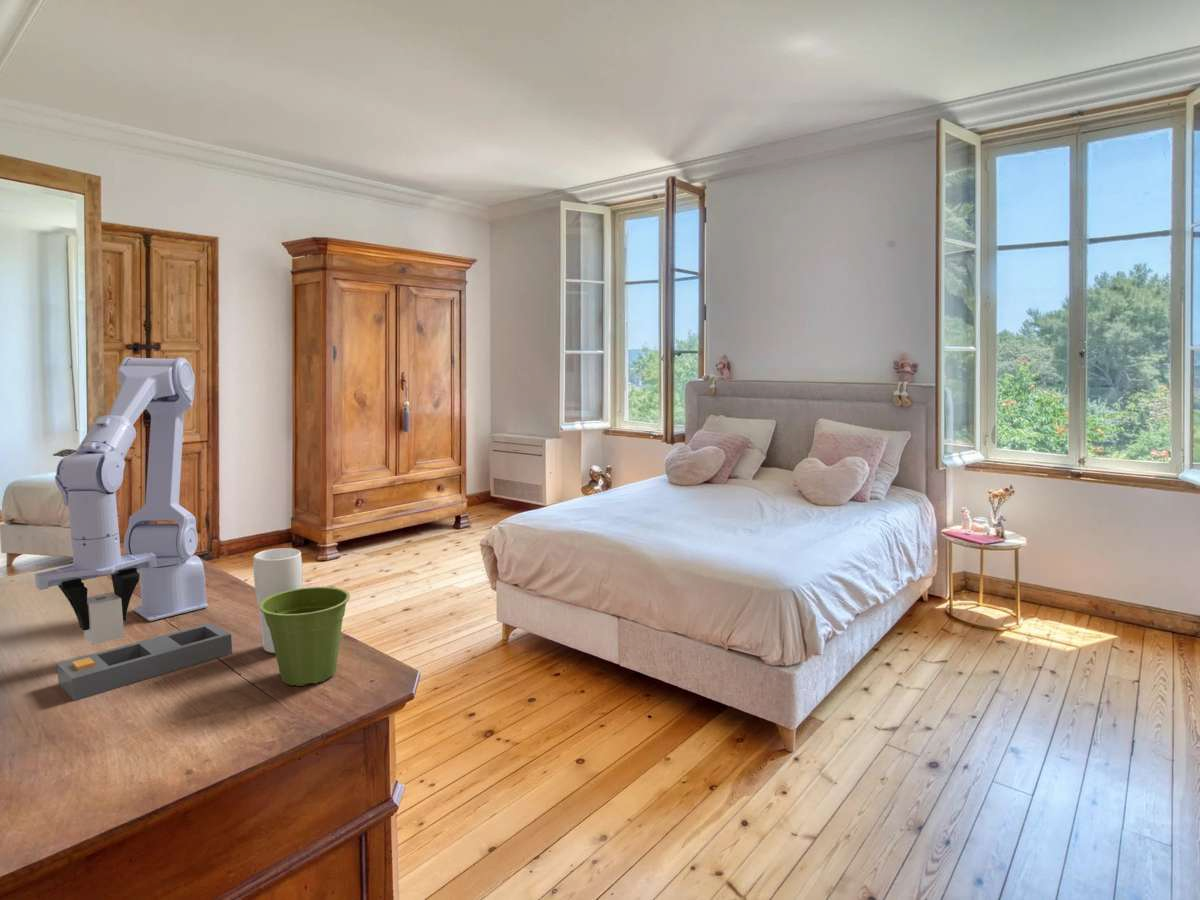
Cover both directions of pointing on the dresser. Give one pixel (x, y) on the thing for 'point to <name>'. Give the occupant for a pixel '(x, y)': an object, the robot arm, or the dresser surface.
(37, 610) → the dresser surface
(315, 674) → the plant pot
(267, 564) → the white tall hollow cylinder
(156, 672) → the power strip
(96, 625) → the block
